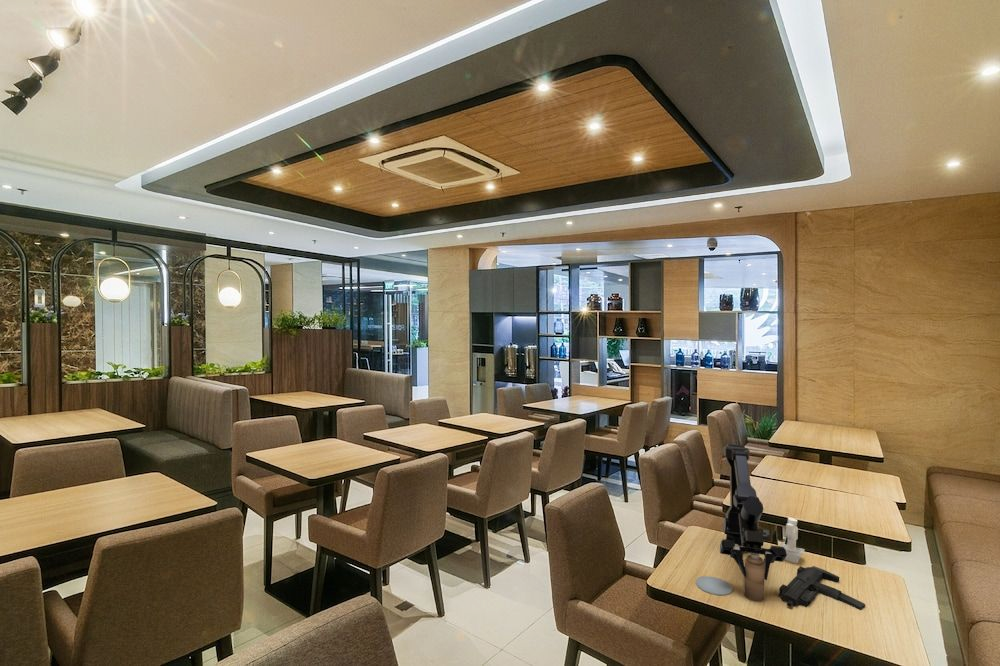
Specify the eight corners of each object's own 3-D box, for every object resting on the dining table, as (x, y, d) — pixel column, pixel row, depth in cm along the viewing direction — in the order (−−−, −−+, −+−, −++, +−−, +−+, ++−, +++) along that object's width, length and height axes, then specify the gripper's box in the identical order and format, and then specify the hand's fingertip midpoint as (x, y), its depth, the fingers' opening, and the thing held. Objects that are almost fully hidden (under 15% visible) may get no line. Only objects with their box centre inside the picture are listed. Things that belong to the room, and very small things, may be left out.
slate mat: (712, 574, 171) (712, 573, 171) (740, 590, 161) (740, 589, 161) (688, 581, 166) (688, 580, 166) (715, 598, 156) (715, 597, 156)
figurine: (805, 558, 184) (806, 517, 184) (799, 567, 177) (801, 525, 177) (782, 552, 189) (784, 512, 189) (776, 560, 182) (778, 519, 182)
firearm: (849, 637, 141) (772, 603, 155) (872, 597, 161) (802, 570, 176) (850, 626, 140) (773, 592, 155) (873, 587, 161) (803, 561, 176)
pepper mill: (742, 590, 161) (743, 549, 161) (761, 593, 160) (763, 551, 159) (745, 599, 156) (747, 557, 156) (765, 603, 154) (767, 559, 154)
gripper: (721, 514, 164) (726, 564, 153) (786, 522, 158) (795, 573, 148) (717, 529, 171) (721, 576, 161) (778, 536, 166) (786, 586, 156)
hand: (755, 578), depth 156 cm, fingers closed on pepper mill, 6 cm apart
